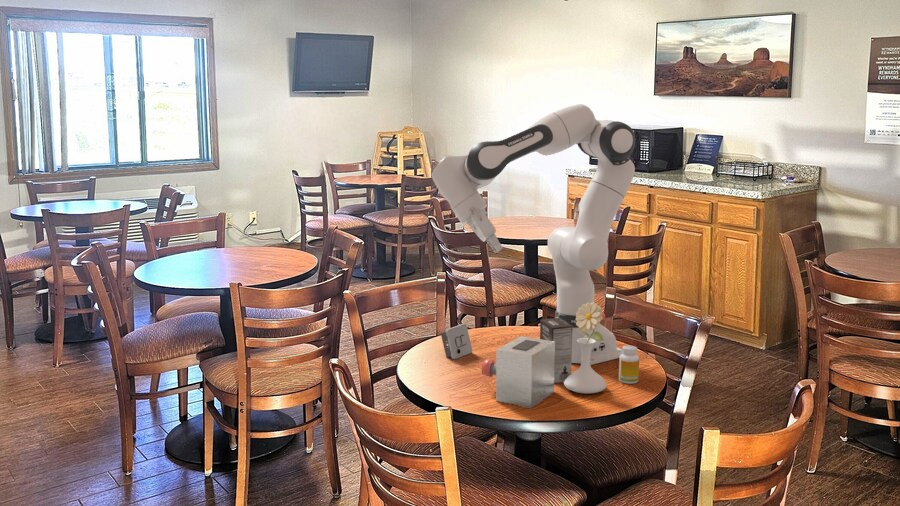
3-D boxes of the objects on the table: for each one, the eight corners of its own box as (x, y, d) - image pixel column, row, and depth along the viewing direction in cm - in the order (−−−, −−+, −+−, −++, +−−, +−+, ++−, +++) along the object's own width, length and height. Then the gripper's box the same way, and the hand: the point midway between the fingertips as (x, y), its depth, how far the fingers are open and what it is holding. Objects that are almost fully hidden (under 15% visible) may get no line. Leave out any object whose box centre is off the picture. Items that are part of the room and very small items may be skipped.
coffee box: (538, 373, 238) (539, 318, 235) (558, 371, 240) (560, 317, 237) (551, 383, 230) (552, 327, 227) (572, 381, 232) (573, 325, 229)
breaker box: (496, 401, 217) (496, 348, 214) (520, 385, 228) (520, 335, 226) (531, 408, 212) (531, 354, 209) (553, 391, 223) (554, 340, 221)
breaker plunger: (481, 377, 224) (481, 361, 223) (489, 372, 227) (489, 357, 226) (516, 384, 218) (516, 368, 217) (524, 379, 222) (524, 363, 221)
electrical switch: (454, 360, 250) (451, 330, 249) (440, 358, 253) (438, 329, 252) (473, 353, 257) (470, 323, 256) (459, 351, 261) (457, 322, 259)
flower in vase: (556, 385, 228) (558, 296, 223) (592, 380, 232) (595, 293, 227) (580, 402, 216) (582, 308, 211) (618, 396, 220) (621, 304, 215)
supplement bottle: (641, 383, 230) (642, 349, 228) (622, 384, 229) (624, 350, 227) (634, 377, 235) (635, 343, 233) (615, 378, 234) (617, 344, 232)
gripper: (481, 199, 221) (511, 242, 221) (479, 206, 242) (506, 246, 241) (462, 212, 221) (491, 255, 221) (461, 219, 242) (488, 258, 241)
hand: (499, 250), depth 231 cm, fingers open, 8 cm apart
